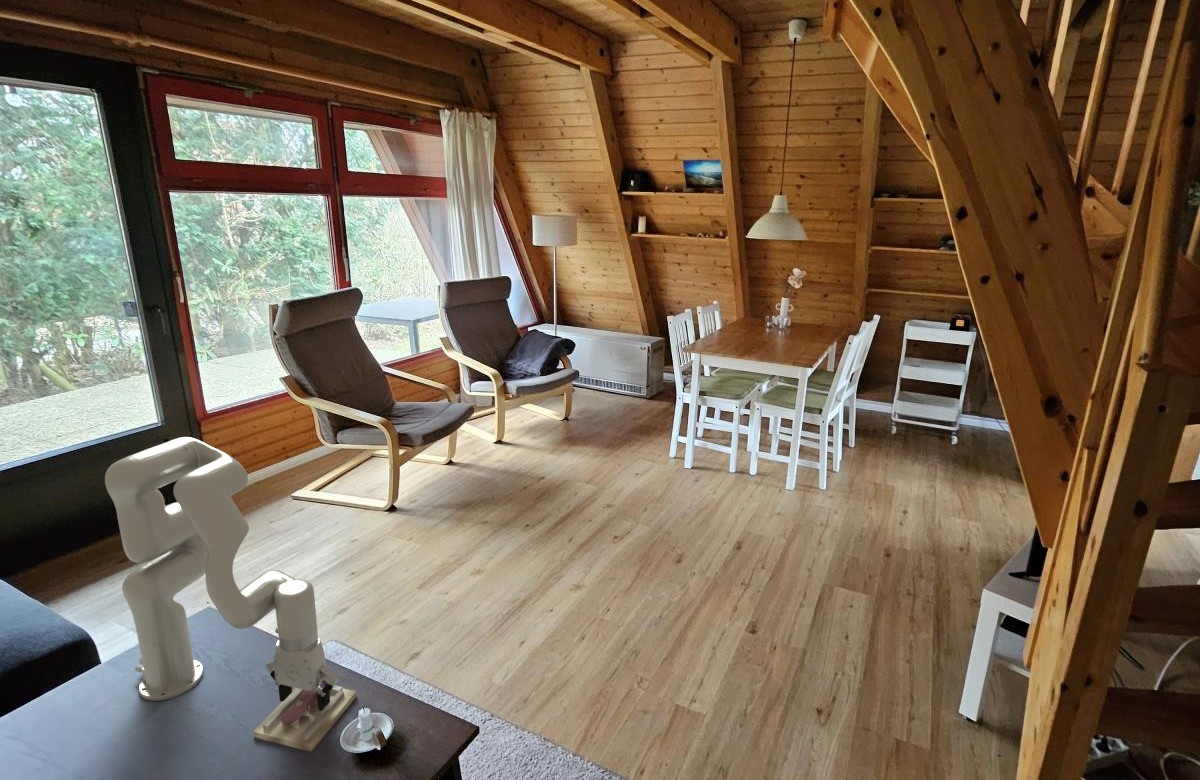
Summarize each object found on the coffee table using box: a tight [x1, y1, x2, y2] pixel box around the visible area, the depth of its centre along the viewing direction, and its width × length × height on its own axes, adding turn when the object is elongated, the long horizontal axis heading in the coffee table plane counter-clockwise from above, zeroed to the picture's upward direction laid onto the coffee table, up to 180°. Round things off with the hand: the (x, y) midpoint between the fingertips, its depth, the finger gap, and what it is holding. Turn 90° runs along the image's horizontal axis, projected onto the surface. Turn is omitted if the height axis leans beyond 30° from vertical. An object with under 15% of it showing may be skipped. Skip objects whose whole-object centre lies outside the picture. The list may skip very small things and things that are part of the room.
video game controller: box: [281, 682, 324, 724], centre depth 138 cm, size 10×5×7 cm, turn 167°
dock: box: [252, 684, 357, 753], centre depth 139 cm, size 14×16×3 cm
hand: (305, 701), depth 138 cm, fingers open, 9 cm apart
